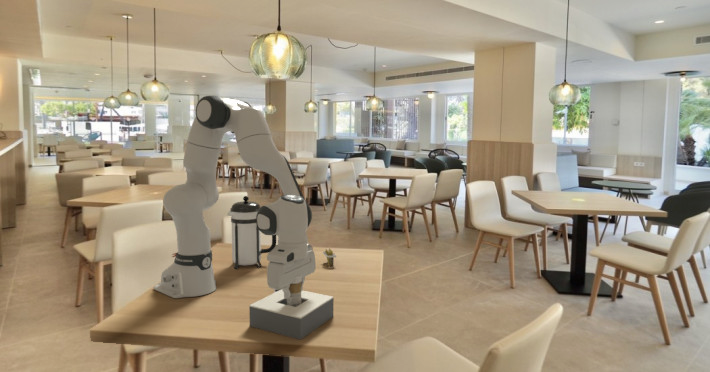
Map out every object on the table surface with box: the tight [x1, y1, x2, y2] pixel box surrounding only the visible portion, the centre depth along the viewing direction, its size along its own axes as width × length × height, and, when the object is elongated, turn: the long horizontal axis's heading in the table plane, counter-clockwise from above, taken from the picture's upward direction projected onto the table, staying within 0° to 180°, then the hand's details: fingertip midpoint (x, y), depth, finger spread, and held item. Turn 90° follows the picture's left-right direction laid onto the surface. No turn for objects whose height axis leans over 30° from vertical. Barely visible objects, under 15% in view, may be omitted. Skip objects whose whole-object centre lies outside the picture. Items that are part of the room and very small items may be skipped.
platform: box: [322, 248, 337, 266], centre depth 196 cm, size 12×18×7 cm, turn 18°
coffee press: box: [226, 195, 277, 270], centre depth 191 cm, size 17×16×30 cm
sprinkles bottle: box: [287, 275, 302, 307], centre depth 135 cm, size 5×5×14 cm
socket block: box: [248, 289, 335, 340], centre depth 135 cm, size 18×18×6 cm
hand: (293, 294), depth 135 cm, fingers closed on sprinkles bottle, 4 cm apart
